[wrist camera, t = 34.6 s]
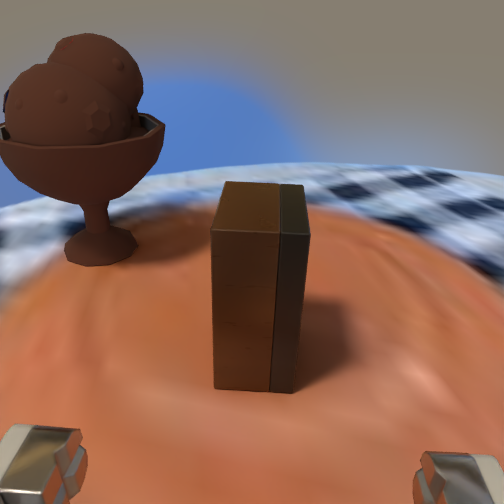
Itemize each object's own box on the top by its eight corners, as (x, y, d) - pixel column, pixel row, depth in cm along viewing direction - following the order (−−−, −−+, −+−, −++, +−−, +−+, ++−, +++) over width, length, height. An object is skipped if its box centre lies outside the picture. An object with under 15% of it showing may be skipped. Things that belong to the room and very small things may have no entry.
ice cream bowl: (94, 209, 39) (63, 27, 32) (198, 235, 36) (190, 35, 28) (-9, 261, 31) (-83, 31, 24) (112, 303, 27) (69, 42, 20)
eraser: (290, 323, 26) (303, 184, 21) (293, 393, 21) (310, 234, 17) (225, 319, 26) (225, 180, 22) (213, 388, 21) (210, 228, 17)
